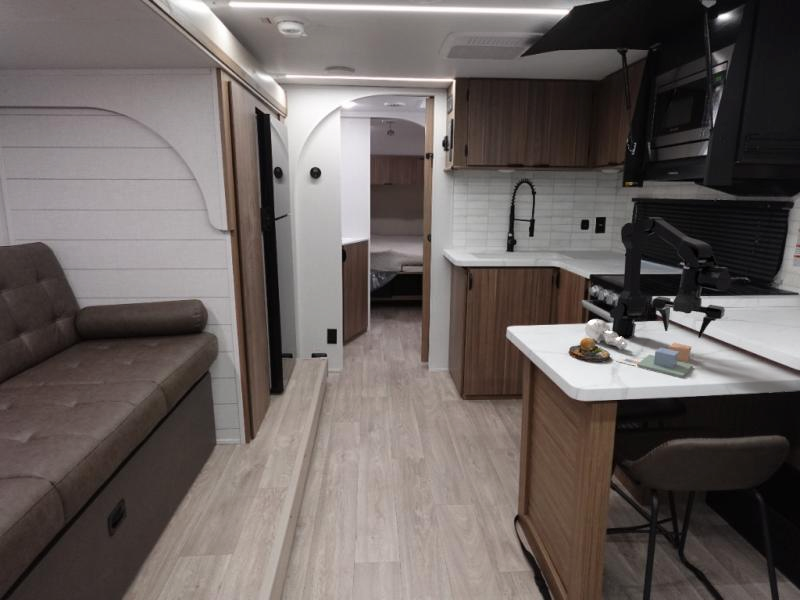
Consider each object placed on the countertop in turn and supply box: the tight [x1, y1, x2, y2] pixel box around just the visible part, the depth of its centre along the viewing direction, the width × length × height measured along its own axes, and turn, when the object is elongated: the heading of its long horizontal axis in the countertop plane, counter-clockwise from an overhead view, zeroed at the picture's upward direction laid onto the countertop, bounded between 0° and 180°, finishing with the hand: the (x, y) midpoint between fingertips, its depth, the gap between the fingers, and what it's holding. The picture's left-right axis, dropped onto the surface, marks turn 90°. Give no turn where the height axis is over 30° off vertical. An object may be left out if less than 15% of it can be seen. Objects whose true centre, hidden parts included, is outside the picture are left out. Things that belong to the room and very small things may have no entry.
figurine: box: [584, 318, 629, 351], centre depth 165 cm, size 11×7×15 cm
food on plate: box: [568, 334, 611, 364], centre depth 153 cm, size 12×12×8 cm
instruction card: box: [616, 356, 644, 369], centre depth 149 cm, size 8×6×1 cm
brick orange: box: [669, 342, 692, 363], centre depth 154 cm, size 5×5×4 cm
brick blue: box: [654, 347, 679, 369], centre depth 145 cm, size 5×5×4 cm
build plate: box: [637, 354, 694, 379], centre depth 146 cm, size 12×12×1 cm
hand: (682, 334), depth 152 cm, fingers open, 9 cm apart
